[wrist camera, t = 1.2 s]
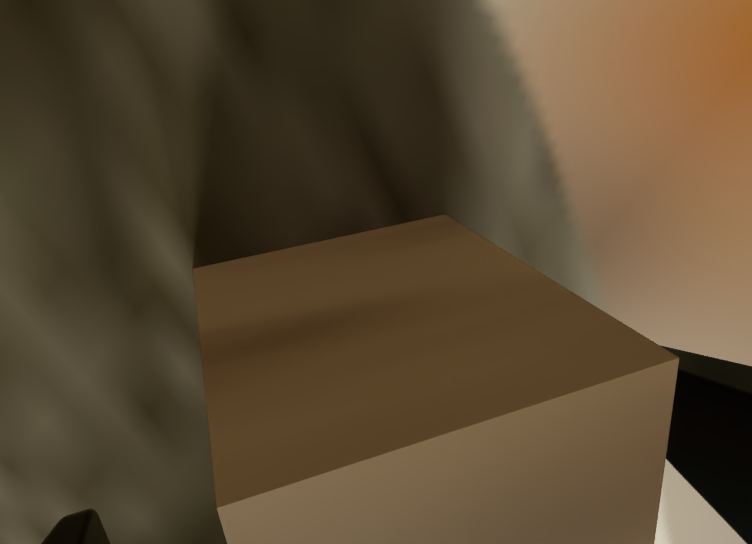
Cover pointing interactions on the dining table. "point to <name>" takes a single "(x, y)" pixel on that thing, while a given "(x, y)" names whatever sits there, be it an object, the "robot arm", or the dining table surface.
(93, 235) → the dining table surface
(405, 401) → the walnut block
